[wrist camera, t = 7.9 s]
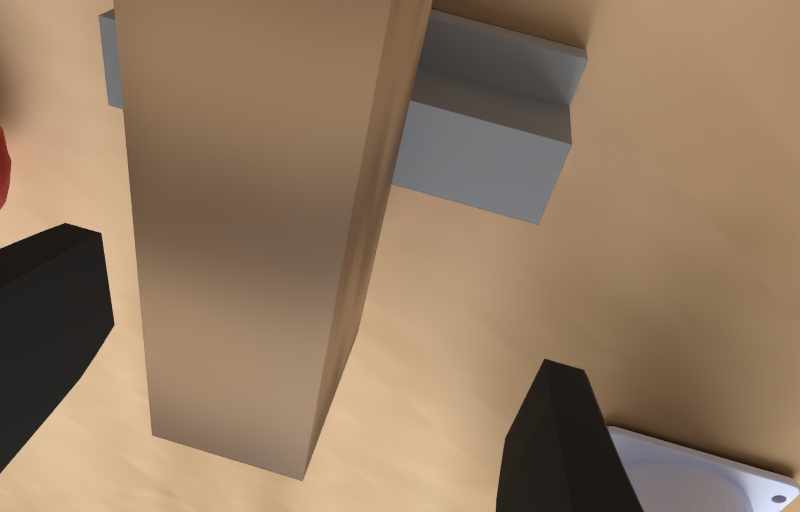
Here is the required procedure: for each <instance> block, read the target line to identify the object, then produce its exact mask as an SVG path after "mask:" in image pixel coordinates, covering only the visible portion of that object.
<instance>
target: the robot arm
mask: <svg viewBox="0 0 800 512" xmlns="http://www.w3.org/2000/svg"><path fill="white" fill-rule="evenodd" d="M114 325H115V324H114V317H113V311H112V304H111V297H110V290H109V283H108V276H107V269H106V262H105V255H104V248H103V241H102V235H101V233H99V232H95V231H92V230H88V229H85V228H81V227H78V226H74V225H71V224H67V223H64V224H61V225H59V226H56V227H53V228H50V229H48V230H45V231H43V232H40V233H37V234H35V235H33V236H30V237H28V238H25V239H23V240H20V241H18V242H15V243H13V244H11V245H8V246H6V247H3V248H1V249H0V473H1V472H2V471H3V470H4V468H5V467H6V466H7V465H8V464H9V462H10V461H11V460H12V459H13V458H14V457H15V455H16V454H17V453H18V452H19V451H20V450H21V448H22V447H23V446H24V445H25V444H26V442H27V441H28V440H29V439H30V438H31V437H32V435H33V434H34V433H35V432H36V431H37V430H38V428H39V427H40V426H41V425H42V424H43V422H44V421H45V420H46V419H47V418H48V417H49V415H50V414H51V413H52V412H53V411H54V409H55V408H56V407H57V406H58V405H59V403H60V402H61V401H62V400H63V399H64V397H65V396H66V395H67V394H68V393H69V391H70V390H71V389H72V388H73V386H74V385H75V384H76V383H77V382H78V380H79V379H80V378H81V376H82V375H83V373H84V372H85V370H86V369H87V367H88V366H89V364H90V363H91V361H92V360H93V358H94V357H95V355H96V354H97V352H98V351H99V349H100V348H101V346H102V344H103V343H104V341H105V339H106V338H107V336H108V335H109V333H110V331H111V330H112V328H113V326H114ZM799 493H800V488H799V485H798V482H797V481H796V480H794V479H792V478H790V477H786V476H783V475H780V474H776V473H773V472H769V471H766V470H762V469H759V468H756V467H752V466H749V465H745V464H742V463H738V462H735V461H732V460H728V459H725V458H721V457H718V456H714V455H711V454H707V453H704V452H701V451H697V450H694V449H690V448H687V447H683V446H680V445H677V444H673V443H670V442H666V441H663V440H659V439H656V438H652V437H649V436H646V435H642V434H639V433H635V432H632V431H628V430H625V429H622V428H618V427H614V426H607V425H606V423H605V420H604V418H603V415H602V413H601V410H600V408H599V405H598V403H597V400H596V398H595V395H594V392H593V390H592V387H591V385H590V382H589V379H588V377H587V375H586V373H585V371H584V370H582V369H578V368H575V367H571V366H568V365H564V364H561V363H557V362H554V361H550V360H547V359H544V361H543V363H542V365H541V367H540V369H539V371H538V373H537V375H536V377H535V379H534V381H533V383H532V385H531V387H530V389H529V391H528V393H527V395H526V397H525V399H524V401H523V403H522V406H521V408H520V410H519V412H518V414H517V416H516V418H515V420H514V422H513V424H512V426H511V428H510V430H509V432H508V434H507V436H506V438H505V443H504V450H503V457H502V463H501V470H500V477H499V485H498V492H497V499H496V512H780V511H781V510H782V509H783V508H784V507H785V506H787V505H788V504H789V503H790V502H791V501H792V500H793V499H794V498H796V497H797V496H798V495H799Z"/></svg>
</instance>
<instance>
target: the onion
mask: <svg viewBox="0 0 800 512" xmlns="http://www.w3.org/2000/svg"><path fill="white" fill-rule="evenodd" d="M10 171H11V159H10V156H9V154H8V151H7V146H6V142H5V137H4V132H3V130H2V128H1V126H0V209H1V208H2V207H3V205H4V204H5V202H6V198H7V194H8V189H9V185H10Z"/></svg>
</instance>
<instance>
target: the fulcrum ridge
mask: <svg viewBox="0 0 800 512" xmlns="http://www.w3.org/2000/svg"><path fill="white" fill-rule="evenodd" d="M99 22H100V32H101V41H102V50H103V59H104V68H105V77H106V86H107V95H108V104H109V105H110V106H113V107H117V108H121V109H123V102H122V91H121V79H120V68H119V57H118V46H117V34H116V23H115V12H114V9H112V10H110V11H108V12H106V13H103V14H101V15H99ZM587 60H588V58H587V52H586V50H584V49H580V48H577V47H573V46H569V45H565V44H562V43H558V42H554V41H550V40H547V39H543V38H539V37H535V36H532V35H528V34H524V33H520V32H517V31H513V30H509V29H505V28H502V27H498V26H494V25H490V24H486V23H483V22H479V21H475V20H471V19H468V18H464V17H460V16H456V15H453V14H449V13H445V12H441V11H438V10H434V9H431V10H430V15H429V19H428V23H427V28H426V32H425V37H424V41H423V46H422V50H421V55H420V59H419V63H418V68H417V72H416V77H415V81H414V86H413V90H412V94H411V99H410V103H409V108H408V112H407V117H406V121H405V125H404V130H403V134H402V139H401V143H400V148H399V152H398V156H397V161H396V165H395V170H394V174H393V179H392V183H391V184H393V185H397V186H400V187H404V188H408V189H411V190H415V191H418V192H422V193H425V194H429V195H433V196H436V197H440V198H443V199H447V200H451V201H454V202H458V203H461V204H465V205H469V206H472V207H476V208H479V209H483V210H486V211H490V212H494V213H497V214H501V215H504V216H508V217H512V218H515V219H519V220H522V221H526V222H529V223H533V224H537V225H539V222H540V220H541V218H542V215H543V213H544V210H545V208H546V206H547V203H548V201H549V198H550V196H551V193H552V191H553V189H554V186H555V184H556V181H557V179H558V177H559V174H560V172H561V169H562V167H563V165H564V162H565V160H566V157H567V155H568V153H569V150H570V148H571V145H572V140H571V124H570V109H569V106H570V103H571V101H572V98H573V96H574V93H575V91H576V88H577V85H578V83H579V80H580V78H581V75H582V73H583V70H584V68H585V65H586V63H587Z"/></svg>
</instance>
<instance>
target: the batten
mask: <svg viewBox="0 0 800 512" xmlns="http://www.w3.org/2000/svg"><path fill="white" fill-rule="evenodd" d="M113 1H114V12H115V23H116V34H117V46H118V57H119V68H120V79H121V91H122V102H123V113H124V124H125V136H126V147H127V158H128V169H129V181H130V192H131V203H132V214H133V225H134V237H135V248H136V259H137V270H138V282H139V293H140V304H141V315H142V327H143V338H144V349H145V360H146V372H147V383H148V394H149V405H150V416H151V428H152V435H153V436H156V437H159V438H163V439H166V440H169V441H172V442H176V443H179V444H182V445H185V446H189V447H192V448H195V449H199V450H202V451H205V452H208V453H212V454H215V455H218V456H222V457H225V458H228V459H231V460H235V461H238V462H241V463H245V464H248V465H251V466H254V467H258V468H261V469H264V470H268V471H271V472H274V473H277V474H281V475H284V476H287V477H291V478H294V479H297V480H300V481H303V479H304V476H305V473H306V470H307V468H308V465H309V462H310V460H311V457H312V454H313V452H314V449H315V446H316V444H317V441H318V438H319V436H320V433H321V430H322V427H323V425H324V422H325V419H326V417H327V414H328V411H329V409H330V406H331V403H332V401H333V398H334V395H335V392H336V390H337V387H338V384H339V382H340V379H341V376H342V374H343V371H344V368H345V366H346V363H347V360H348V357H349V355H350V352H351V349H352V347H353V344H354V341H355V339H356V336H357V333H358V329H359V325H360V320H361V316H362V312H363V307H364V303H365V298H366V294H367V289H368V285H369V281H370V276H371V272H372V267H373V263H374V258H375V254H376V249H377V245H378V241H379V236H380V232H381V227H382V223H383V218H384V214H385V210H386V205H387V201H388V196H389V192H390V187H391V183H392V179H393V174H394V170H395V165H396V161H397V156H398V152H399V148H400V143H401V139H402V134H403V130H404V125H405V121H406V117H407V112H408V108H409V103H410V99H411V94H412V90H413V86H414V81H415V77H416V72H417V68H418V63H419V59H420V55H421V50H422V46H423V41H424V37H425V32H426V28H427V23H428V19H429V15H430V10H431V6H432V1H433V0H113Z"/></svg>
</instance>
